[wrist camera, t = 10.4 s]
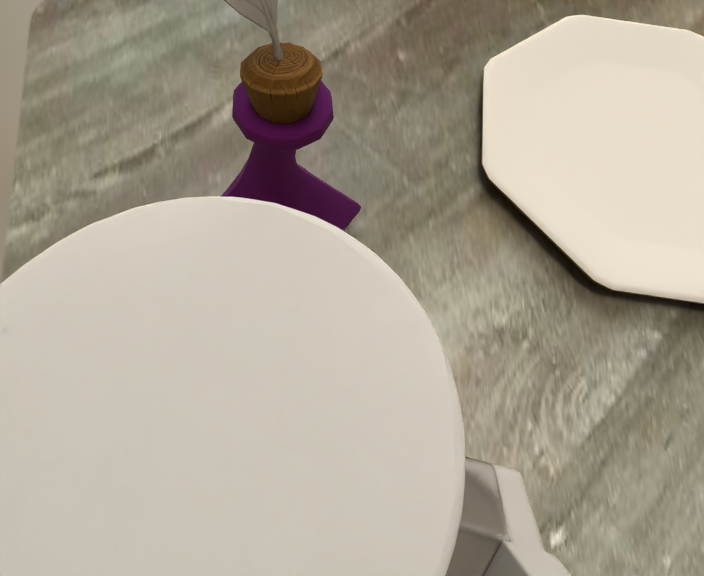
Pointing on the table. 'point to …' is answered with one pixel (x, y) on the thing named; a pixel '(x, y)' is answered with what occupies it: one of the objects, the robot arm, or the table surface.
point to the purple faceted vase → (283, 123)
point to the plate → (605, 149)
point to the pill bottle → (223, 403)
